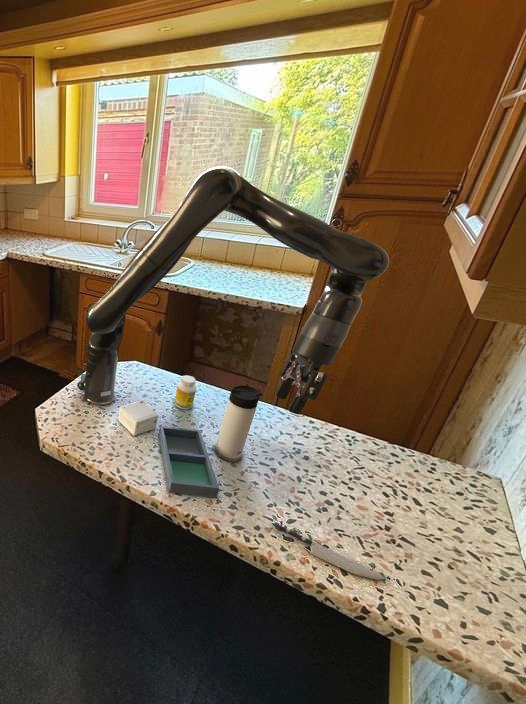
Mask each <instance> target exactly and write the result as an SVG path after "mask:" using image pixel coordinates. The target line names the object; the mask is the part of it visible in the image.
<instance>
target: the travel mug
mask: <svg viewBox="0 0 526 704" xmlns="http://www.w3.org/2000/svg"><path fill="white" fill-rule="evenodd" d="M262 396H263V393H262V391H261V390H260V389H257V388H255V387H253V386H249V385H243V384H242V385H241V384H240V385H236V386H234V387H232V388H231V391H230V394H229V397H228V400H227V403H226V408H225V411H224V414H223V418H222V421H221V426H220V429H219V433H218V435H217V439H216V444H215V447H214V451H215V453H216V455H217V456H218V457H219V458H221V459H222V460H225V461H228V462H237V461H239V460H240V459H241V457H242V454H243V451H244V448H245V445H246V442H247V439H248V435H249V433H250V429H251V426H252V424H253V420H254V417H255V415H256V414H255V413H256V410H257V408H258V403H259V400H260V398H261V397H262Z"/></svg>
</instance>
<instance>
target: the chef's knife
mask: <svg viewBox="0 0 526 704" xmlns="http://www.w3.org/2000/svg"><path fill="white" fill-rule="evenodd" d="M273 525H274V528H275V529H276V530H277V531H278V532H282V533H284V534H287V535H289V536H291V537H293V538H295V539H297V540H299V541H300V542H302V543H303V544H306V545H308V546H309V547H310V552H311V555H313V556H315V557H317V558H320V559H321V560H324V561H325V562H327V563H330V564H332V565H334V566H336V567H338V568H340V569H342V570H344V571H346V572H349V573H351V574H353V575H357V576H361V577H365V578H368V579H374V580H388V578H386V577H385V576H383V575H381V574H380V573H377V572H375V571H374V570H371V569H369V568H368V567H365V566H363V565H361V564H359V563H358V562H355V561H353V560H351V559H350V558H348V557H346V556H343V555H341V554H340V553H337V552H335V551H334V550H332V549H330V548H327V547H325V546H324V545H321V544H319V543H317V542H315V541H314V540H311V539H309V538H307V537H305V536H303V535H301V534H299V533H297V532H295V531H292V530H291V529H288V528H286V527H285V526H283V525H281V524H279V523H278V524H277V523H275V524H273Z"/></svg>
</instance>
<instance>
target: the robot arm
mask: <svg viewBox="0 0 526 704" xmlns="http://www.w3.org/2000/svg"><path fill="white" fill-rule="evenodd" d="M223 212H227V213H230V214H233V215H236V216H239V217H241V218H243V219H245V220H247V221H248V222H250V223H251V224H254V225H255V226H256V227H258V228H260V229H261V230H262V231H264V232H265V233H267V234H268V235H269V236H270V237H272V238H273V239H275V240H276V241H278V242H280V243H281V244H282V245H284V246H287V247H288V248H290V249H291V250H293V251H295V252H297V253H299V254H301V255H303V256H305V257H308V258H310V259H313V260H317V261H320V262H323V263H324V264H326V265H327V266H330V267H331V269H330V271H329V274H328V278H327V281H326V284H325V287H324V290H323V292H322V294H321V296H320V297H319V299H318V301H317V302H316V304H315V307H314V308H313V310H312V312H311V314H310V316H309V317H308V319H307V321H306V322H305V323H304V325H303V327H302V329H301V331H300V333H299V335H298V337H297V338H296V339H297V340H296V341H295V343H294V345H293V347H292V350H291V351H292V352H293V353H290V354H289V356H288V358H287V360H286V362H285V363H284V365H283V367H282V369H281V371H280V372H279V377H281V378H280V381H281V382H280V384H279V386H278V388H277V390H276V392H275V397H276V398H278V399H281V400H286V399H287V398H288V396H289V394H290V392H291V391H292V389H293V385H295V386H296V392H295V395H294V396H293V398H292V400H291V402H290V403H289V406H288V408H287V410H288V411H289V413H291V414H293V415H300V414H301V413H302V411H303V409H304V407H305V405H306V403H307V401H314V402H315V401H316V400H317V398H318V396H319V394H320V392H321V390H322V389H323V386H324V384H325V383H326V380H327V378H328V374H327V373H326V372H322V371H321V369H322V366H324V365H325V366H331V365H332V364H333V363H334V361H335V359H336V357H337V356H338V354H339V352H340V350H341V348H342V346H343V344H344V342H345V340H346V339H347V337H348V335H349V332H350V329H351V327H352V325H353V323H354V321H355V320H356V317H357V316H358V314H359V312H360V309H361V307H362V305H363V298H362V294H363V293H364V291H365V288H366V286H367V284H368V282H369V281H371V280H375V279H377V278H379V277H380V276H382V275H383V274H384V273H385V272H386V271H387V269H388V268H389V266H390V257H389V254H388V253H387V251H386V250H385V249H384V248H383V247H381V246H380V245H378V244H376V243H374V242H373V241H370V240H367V239H365V238H362V237H359V236H358V235H355V234H354V235H353V234H352V233H349V232H347V231H346V232H345V231H343V230H340V229H338V228H337V227H335V226H333V225H331V224H330V223H327V222H326V221H323V220H321V219H320V218H317V217H316V216H314V215H312V214H309V213H307V212H305V211H303V210H301V209H298V208H297V207H294V206H292V205H289V204H288V203H285V202H283V201H281V200H279V199H277V198H275V197H273V196H272V195H269V194H267V193H266V192H264V191H263V190H261V189H260V188H258V187H256V186H255V185H254V184H252V183H251V182H250V181H248V180H247V179H246V178H244V177H243V176H242V175H240V174H239V173H238V172H237V171H236V170H235V169H233V168H231V167H229V166H225V165H223V166H216V167H212V168H209V169H207V170H206V171H204V172H203V173H201V174H200V175H199V176H198V177H197V178H196V180H195V181H194V183H193V184H192V185H191V187H190V189H189V190H188V192H187V193H186V195H185V196H184V197H183V199H182V200H181V202H180V203H179V205H178V206H177V207H176V209H175V210H174V211H173V213H172V214H171V216H170V217H169V218H168V219H167V220H166V221H165V222H164V223H162V225H160V226H159V228H158V229H157V230H156V231H154V232H153V234H151V236H150V237H149V238H148V240H146V241H145V242H144V243H143V245H142V246H141V247H140V248H139V249H138V251H137V252H136V253H135V254H134V255H133V257H132V258H131V260H129V262H128V264H127V265H126V267H124V268H123V270H122V272H121V273H120V274H119V276H118V278H117V279H116V281H115V282H114V283H113V285H112V286H111V287H110V289H108V290H107V292H106V293H105V294H104V295H102V297H101V298H99V300H97V301H96V302H95V303H94V304H93V305H92V306H90V307H89V309H88V311H87V313H86V318H85V322H86V325H87V328H88V330H89V331H90V332H91V333H90V334H91V335H90V337H89V339H88V342H87V352H86V353H87V355H86V366H85V373H80V380H79V381H78V382H77V383H76V387H77V388H78V390H79V391H83V401H84V402H88V403H90V404H92V405H95V406H107V405H110V404H111V403H112V402H113V401H114V397H115V387H116V379H117V378H116V377H117V370H118V361H119V352H120V346H121V344H122V341H123V337H124V330H125V323H126V317H127V316H126V314H127V312H129V310H130V309H131V308H132V306H134V305H135V304H136V303H137V302H138V301H139V300H140V299H142V298H143V297H144V296H146V295H147V294H148V293H149V292H150V291H151V290H152V289H153V288H154V287H156V285H158V284H159V283H160V282H161V281H162V280H163V279H164V278H165V277H167V275H168V274H169V272H170V271H172V270H173V268H174V267H175V266H176V265H177V264H178V262H179V261H180V260H181V258H182V257H183V255H185V253H186V252H187V250H188V248H189V247H190V246H191V244H192V243H193V241H194V239H195V238H196V237H197V236H198V235H199V234H200V233H201V232H202V231H203V230H204V229H205V228H206V227H208V225H209V224H210V223H211V222H213V221H214V220H215V219H216V218H217V217H218V216H219V215H221V214H222V213H223Z"/></svg>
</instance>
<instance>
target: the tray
mask: <svg viewBox="0 0 526 704" xmlns="http://www.w3.org/2000/svg"><path fill="white" fill-rule="evenodd" d="M157 435H158V440H159V445H160V450H161V455H162V460H163V466H164V471H165V477H166V483H167V488H168V492H169V493H175V494H183V495H189V496H199V497H207V498H214V499H215V498H216V499H217V498H218V494H219V491H220V487H219V484H218V481H217V477H216V473H215V471H214V468H213V466H212V465H213V464H212V463H211V459H210V456H209V453H208V450H207V447H206V444H205V442H204V438H203V436H202V432H201V430H200V429H193V428H192V429H191V428H182V427H173V426H165V425H163V426H162V425H160V426H159V430H158V434H157Z"/></svg>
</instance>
